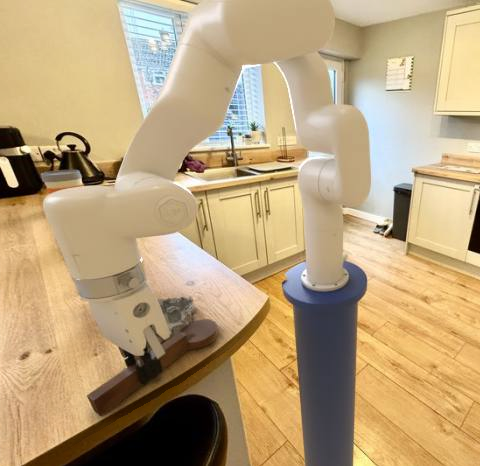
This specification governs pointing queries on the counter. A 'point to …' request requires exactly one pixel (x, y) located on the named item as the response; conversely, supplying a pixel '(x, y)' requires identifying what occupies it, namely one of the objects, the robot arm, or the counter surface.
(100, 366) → the counter surface
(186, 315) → the crystal geode chunk
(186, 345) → the spoon
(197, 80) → the robot arm
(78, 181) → the reusable coffee cup
